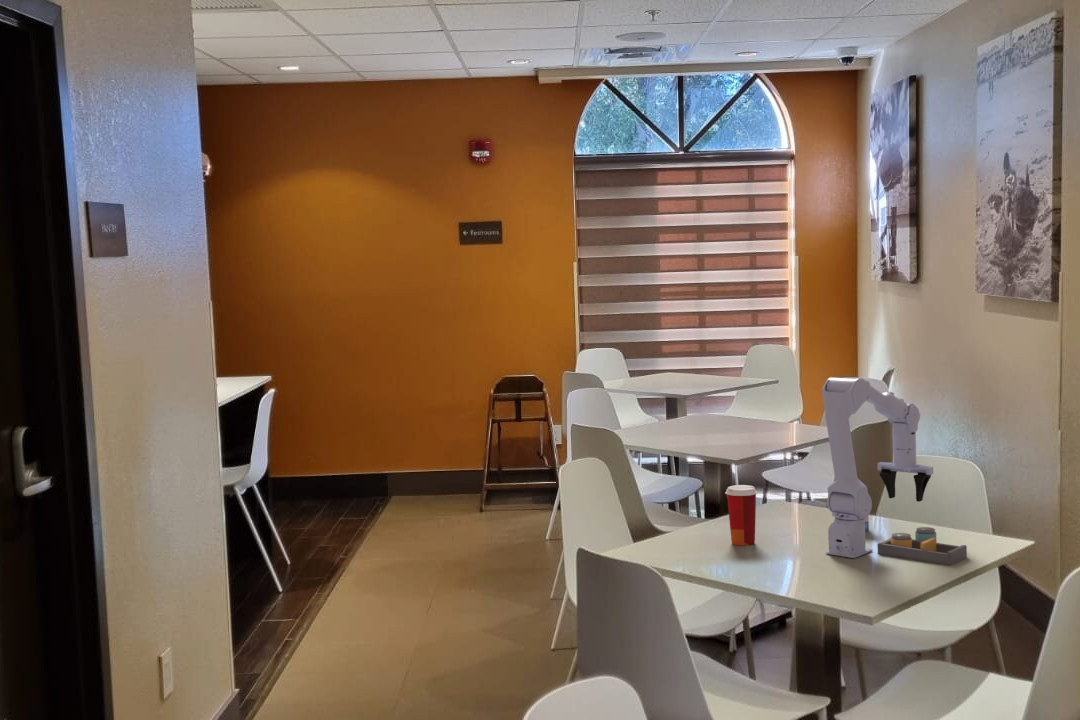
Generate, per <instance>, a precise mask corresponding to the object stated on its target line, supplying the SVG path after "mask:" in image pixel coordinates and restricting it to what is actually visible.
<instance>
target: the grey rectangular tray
mask: <svg viewBox="0 0 1080 720" xmlns="http://www.w3.org/2000/svg"><path fill="white" fill-rule="evenodd" d="M921 542H923V541H921V540H915V539H913V538H912V548H909V547H902V546H896V545H891V538H889V539H886V540H883V541H881V542H878V543H877V554H879V555H883V556H890V557H894V558H895V557H897V558H903V559H910V560H915V561H921V562H927V563H933V564H939V565H940V564H941V565H944V566H945V565H947V566H952V565H954V564H956V563H958V562H960V561H963V560H965V559H967V558H968V551H967V550H968V547H967V545H966V544H965V545H964V544H962V545H960V546H959V545H955V544H947V543H940V542H937V552H935V551H929V550H922V549H920V543H921Z"/></svg>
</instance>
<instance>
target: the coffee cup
mask: <svg viewBox="0 0 1080 720" xmlns="http://www.w3.org/2000/svg"><path fill="white" fill-rule="evenodd" d="M724 493H725V495H726V497H727V508H728V509H727V510H728V519H729V528H730V529H729V530H730V540H731V544H732V545H734V546H737V545H738V547H747V546H746V545H750V546H753V545H755V543H756V541H755V540H756V516H757V515H756V510H757V509H756V508H757V507H756V506H757V505H756V503H757V494H758V491H757V490H756V488H755V486H753V485H747V484H735V485H730V486H727V488H726V491H725V492H724ZM752 544H753V545H752Z"/></svg>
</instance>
